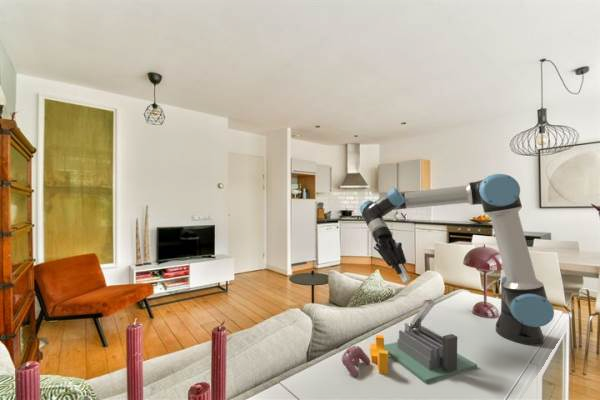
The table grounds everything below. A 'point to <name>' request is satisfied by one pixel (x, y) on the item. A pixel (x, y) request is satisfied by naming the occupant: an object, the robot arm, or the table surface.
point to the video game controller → (354, 359)
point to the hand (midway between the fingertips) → (406, 280)
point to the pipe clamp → (379, 354)
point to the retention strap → (422, 313)
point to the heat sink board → (428, 354)
